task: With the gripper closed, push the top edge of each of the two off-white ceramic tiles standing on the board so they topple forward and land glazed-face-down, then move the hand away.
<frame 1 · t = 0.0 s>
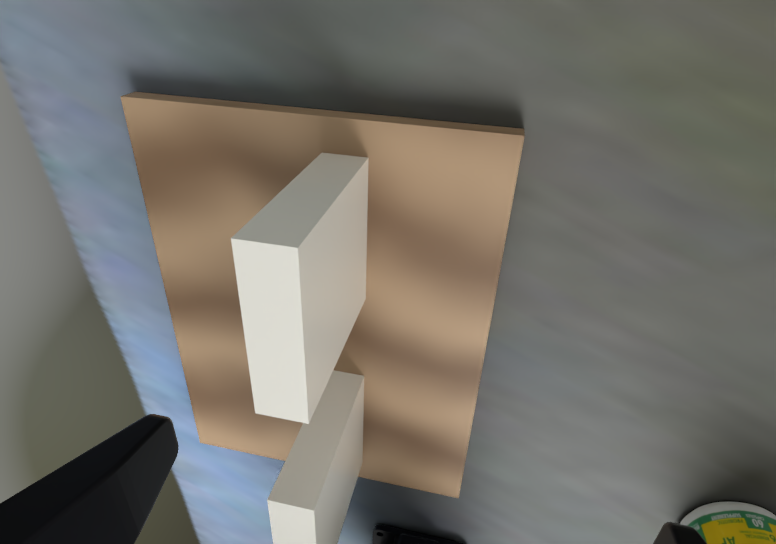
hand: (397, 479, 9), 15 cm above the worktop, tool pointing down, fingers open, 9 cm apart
board: (324, 319, 27), on the worktop
supplement bottle: (727, 525, 28), on the worktop
tile a: (346, 418, 29), point 1 cm above the worktop, touching board
tile b: (345, 230, 23), point 1 cm above the worktop, touching board
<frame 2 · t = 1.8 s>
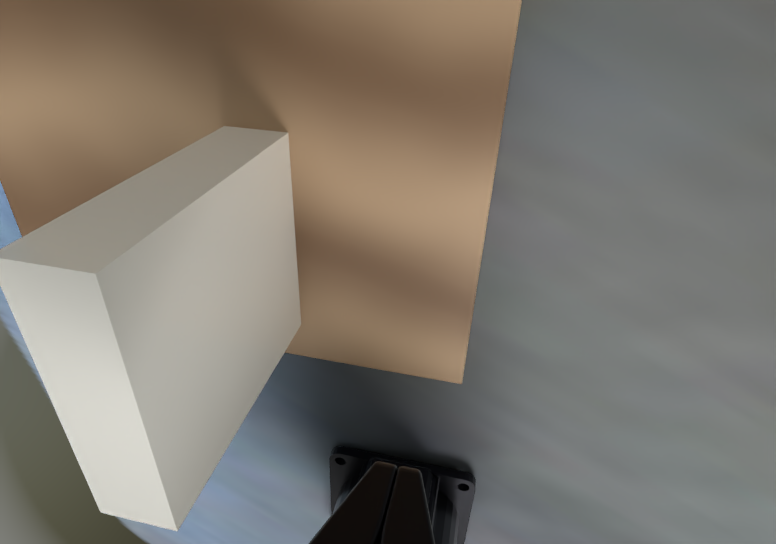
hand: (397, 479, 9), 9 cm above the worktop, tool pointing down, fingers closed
board: (213, 28, 14), on the worktop
tile a: (266, 235, 17), point 1 cm above the worktop, touching board
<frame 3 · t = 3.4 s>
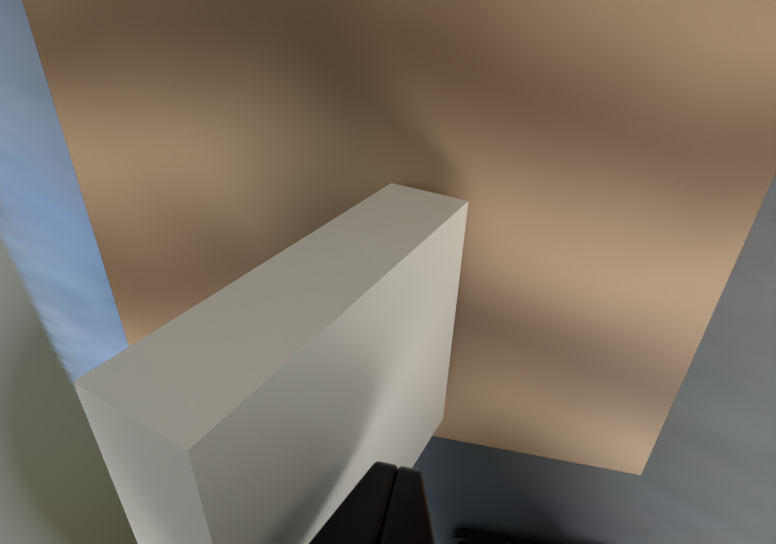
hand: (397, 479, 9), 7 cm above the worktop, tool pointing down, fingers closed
board: (382, 65, 12), on the worktop
tile a: (419, 313, 14), point 1 cm above the worktop, tilted 17°, touching board
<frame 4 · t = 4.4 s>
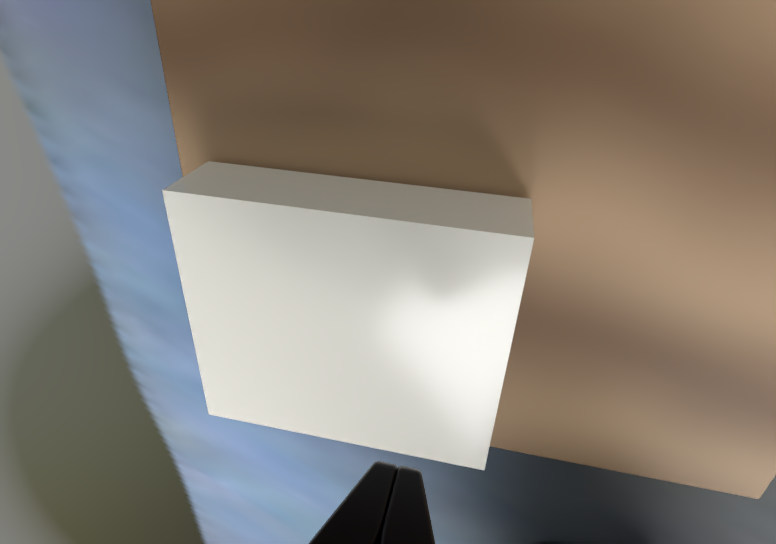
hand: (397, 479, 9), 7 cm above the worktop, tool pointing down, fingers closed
board: (532, 72, 11), on the worktop
tile a: (505, 345, 12), point 2 cm above the worktop, tilted 90°, touching board
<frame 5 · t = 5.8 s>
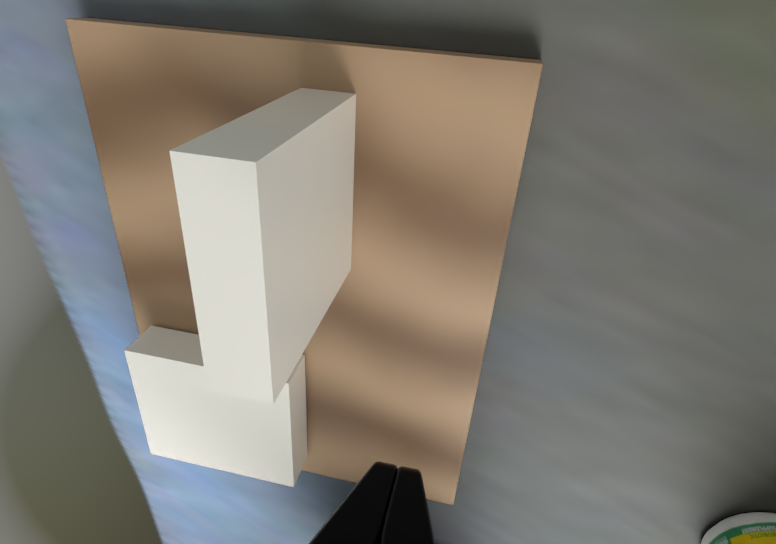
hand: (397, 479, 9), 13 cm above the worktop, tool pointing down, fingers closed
board: (303, 296, 23), on the worktop
supplement bottle: (757, 539, 25), on the worktop
tile a: (299, 423, 25), point 2 cm above the worktop, tilted 90°, touching board
tile b: (328, 185, 19), point 1 cm above the worktop, touching board
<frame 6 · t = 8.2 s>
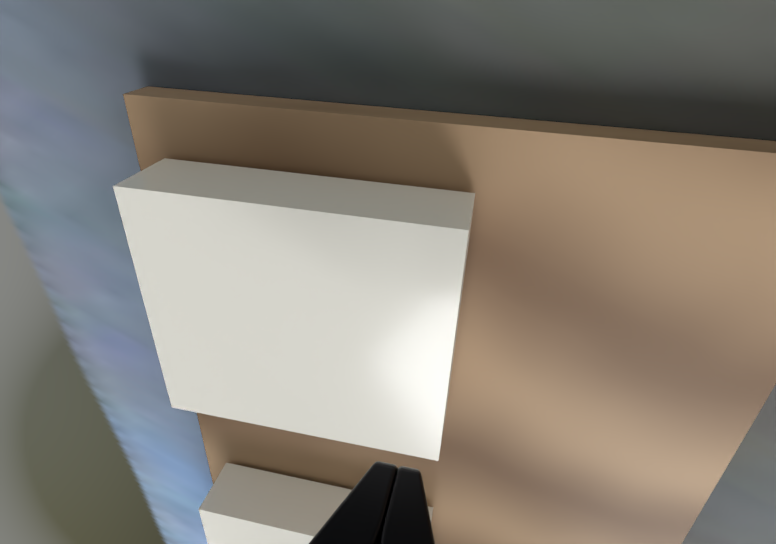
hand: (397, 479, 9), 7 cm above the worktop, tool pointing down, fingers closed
board: (431, 432, 18), on the worktop
tile b: (455, 337, 13), point 2 cm above the worktop, tilted 90°, touching board
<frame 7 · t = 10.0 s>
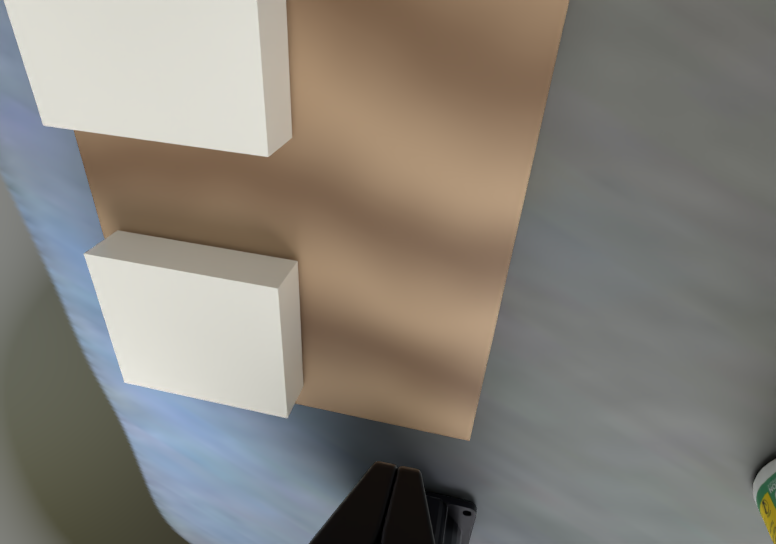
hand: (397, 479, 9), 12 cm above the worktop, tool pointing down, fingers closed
board: (295, 190, 20), on the worktop
tile a: (292, 343, 21), point 2 cm above the worktop, tilted 90°, touching board
tile b: (274, 29, 15), point 2 cm above the worktop, tilted 90°, touching board
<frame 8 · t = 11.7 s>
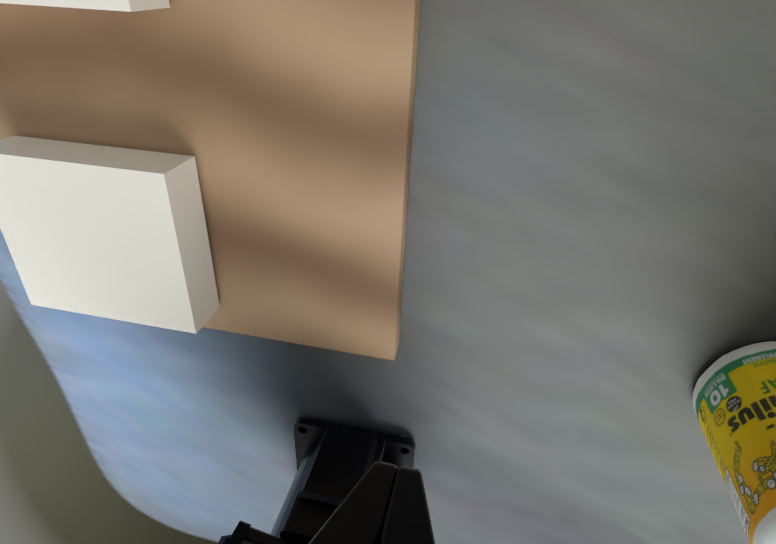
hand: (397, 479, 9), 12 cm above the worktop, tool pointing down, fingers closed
board: (190, 80, 19), on the worktop
supplement bottle: (762, 385, 20), on the worktop
tile a: (195, 249, 20), point 2 cm above the worktop, tilted 90°, touching board
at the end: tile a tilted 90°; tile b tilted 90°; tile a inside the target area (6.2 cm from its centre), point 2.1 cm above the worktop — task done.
